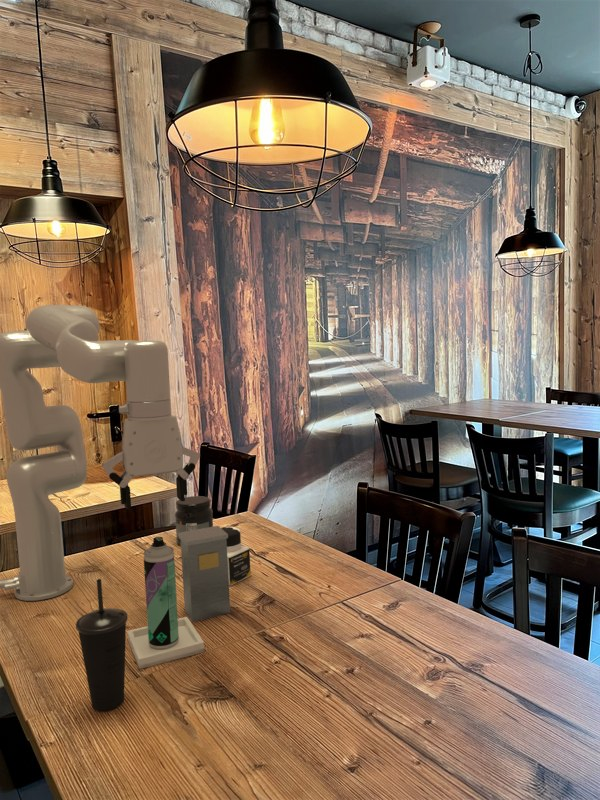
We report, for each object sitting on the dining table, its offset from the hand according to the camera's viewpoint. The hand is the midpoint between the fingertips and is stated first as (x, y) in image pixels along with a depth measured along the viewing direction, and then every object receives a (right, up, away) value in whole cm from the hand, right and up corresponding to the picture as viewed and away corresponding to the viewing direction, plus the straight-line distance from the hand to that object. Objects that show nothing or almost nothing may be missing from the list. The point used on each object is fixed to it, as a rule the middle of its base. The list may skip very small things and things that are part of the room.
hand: (154, 503), depth 108 cm
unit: (+7, -25, +16) cm, 31 cm away
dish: (+1, -27, +3) cm, 27 cm away
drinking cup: (-4, -29, -14) cm, 33 cm away
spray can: (+1, -27, +3) cm, 27 cm away
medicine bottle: (+10, -24, +33) cm, 42 cm away
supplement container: (-3, -22, +60) cm, 64 cm away
